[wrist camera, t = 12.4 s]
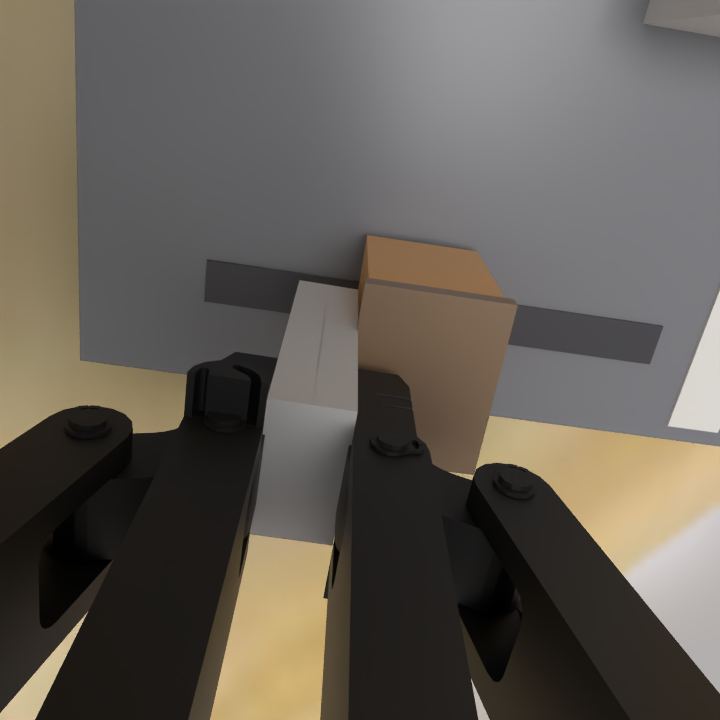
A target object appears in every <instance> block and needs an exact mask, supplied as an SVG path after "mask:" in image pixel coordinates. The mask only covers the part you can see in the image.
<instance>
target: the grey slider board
mask: <svg viewBox="0 0 720 720" xmlns="http://www.w3.org/2000/svg"><path fill="white" fill-rule="evenodd" d="M75 61H76V123H77V186H78V248H79V311H80V360H82V361H90V362H97V363H104V364H112V365H119V366H127V367H134V368H141V369H149V370H156V371H164V372H171V373H179V374H186V375H187V371H189V370H190V369H191V368H192V367H193V366H194V365H197V364H200V363H203V362H208V361H217V360H222V359H224V358H226V357H227V356H229V355H231V354H232V353H234V352H242V353H248V354H255V355H261V356H267V357H274V358H278V357H279V353H280V350H281V346H282V342H283V339H284V335H285V331H286V328H287V324H288V320H289V317H290V313H291V309H292V306H293V302H294V298H295V295H296V291H297V287H298V284H299V280H302V281H308V282H314V283H320V284H326V285H332V286H339V287H345V288H351V289H357V290H358V288H359V282H360V275H361V269H362V263H363V256H364V250H365V244H366V237H367V235H371V236H378V237H384V238H391V239H398V240H404V241H411V242H418V243H424V244H431V245H438V246H444V247H451V248H458V249H464V250H471V251H477V252H478V254H479V256H480V257H481V259H482V261H483V262H484V264H485V265H486V267H487V269H488V270H489V272H490V274H491V275H492V277H493V279H494V280H495V282H496V284H497V285H498V287H499V289H500V290H501V292H502V294H503V295H504V297H505V298H510V299H514V300H515V302H516V303H517V305H518V307H517V310H516V314H515V318H514V322H513V326H512V330H511V334H510V337H509V341H508V345H507V349H506V353H505V357H504V361H503V364H502V368H501V372H500V376H499V380H498V384H497V387H496V391H495V395H494V399H493V403H492V407H491V411H490V414H489V415H490V416H498V417H505V418H513V419H520V420H527V421H535V422H542V423H550V424H557V425H564V426H572V427H579V428H587V429H594V430H602V431H609V432H616V433H624V434H631V435H639V436H646V437H654V438H661V439H668V440H676V441H683V442H691V443H698V444H705V445H713V446H720V0H75Z"/></svg>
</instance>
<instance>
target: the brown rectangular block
mask: <svg viewBox="0 0 720 720" xmlns="http://www.w3.org/2000/svg"><path fill="white" fill-rule="evenodd" d="M517 307H518V305H517V303H516V302H515V300H514V299H510V298H505V297H504V295H503V294H502V292H501V290H500V289H499V287H498V285H497V284H496V282H495V280H494V279H493V277H492V275H491V274H490V272H489V270H488V269H487V267H486V265H485V264H484V262H483V261H482V259H481V257H480V256H479V254H478V252H477V251H471V250H464V249H458V248H451V247H444V246H438V245H431V244H424V243H418V242H411V241H404V240H398V239H391V238H384V237H378V236H371V235H367V237H366V244H365V250H364V256H363V263H362V269H361V275H360V282H359V288H358V324H357V331H358V369H363V370H370V371H376V372H383V373H389V374H396V375H399V376H400V377H401V378H402V379H403V381H404V382H405V383H406V384H407V385H408V386H409V388H410V394H411V401H412V407H413V409H412V411H413V414H414V420H415V426H416V433H417V437H418V438H420V439H421V440H422V441H423V442H424V443H426V445H427V447H428V449H429V451H430V454H431V460H432V464H433V465H435V466H437V467H439V468H440V469H442V470H444V471H448V472H456V473H463V474H471V475H474V472H475V468H476V464H477V461H478V457H479V453H480V449H481V445H482V441H483V438H484V434H485V430H486V426H487V422H488V418H489V414H490V411H491V407H492V403H493V399H494V395H495V391H496V387H497V384H498V380H499V376H500V372H501V368H502V364H503V361H504V357H505V353H506V349H507V345H508V341H509V337H510V334H511V330H512V326H513V322H514V318H515V314H516V310H517Z"/></svg>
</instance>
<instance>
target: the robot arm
mask: <svg viewBox="0 0 720 720" xmlns="http://www.w3.org/2000/svg"><path fill="white" fill-rule="evenodd" d="M357 324H358V290H357V289H351V288H345V287H339V286H332V285H326V284H320V283H314V282H308V281H302V280H299V284H298V287H297V291H296V295H295V298H294V302H293V306H292V309H291V313H290V317H289V320H288V324H287V328H286V331H285V335H284V339H283V342H282V346H281V350H280V353H279V357H278V358H274V357H267V356H261V355H255V354H248V353H242V352H234V353H232V354H231V355H229V356H227V357H226V358H224V359H222V360H217V361H208V362H203V363H200V364H197V365H194V366H193V367H192V368H191V369H190V370H189V371H187V384H186V397H185V410H184V417H183V419H182V421H181V423H180V426H179V428H177V429H174V430H170V431H166V432H157V433H136V434H133V427H132V421H131V420H130V419H129V418H128V417H127V416H126V415H125V414H123V413H121V412H119V411H116V410H114V409H110V408H104V407H100V406H92V405H90V406H88V405H87V406H78V407H75V408H70V409H65V410H62V411H60V412H57V413H55V414H53V415H51V416H49V417H48V418H46V419H45V420H43V421H42V422H40V423H39V424H37V425H36V426H34V427H33V428H31V429H30V430H28V431H27V432H25V433H24V434H22V435H21V436H19V437H18V438H16V439H15V440H13V441H12V442H10V443H8V444H7V445H5V446H4V447H2V448H1V449H0V713H1V711H2V710H3V709H4V708H5V707H6V706H7V704H8V703H9V702H10V701H11V700H12V699H13V698H14V696H15V695H16V694H17V693H18V692H19V691H20V689H21V688H22V687H23V686H24V685H25V684H26V682H27V681H28V680H29V679H30V678H31V677H32V676H33V674H34V673H35V672H36V671H37V670H38V669H39V667H40V666H41V665H42V664H43V663H44V662H45V660H46V659H47V658H48V657H49V656H50V655H51V654H52V652H53V651H54V650H55V649H56V648H57V647H58V645H59V644H60V643H61V642H62V641H63V640H64V638H65V637H66V636H67V635H68V634H69V633H70V632H71V630H72V629H73V628H74V627H75V626H76V625H77V623H78V622H79V621H80V620H81V619H82V618H83V617H84V615H85V614H86V613H87V612H88V613H87V615H86V617H85V619H84V621H83V623H82V625H81V627H80V629H79V632H78V634H77V636H76V638H75V640H74V642H73V644H72V646H71V648H70V650H69V652H68V654H67V656H66V658H65V660H64V662H63V664H62V666H61V668H60V670H59V672H58V674H57V676H56V678H55V680H54V683H53V685H52V687H51V689H50V691H49V693H48V695H47V697H46V699H45V701H44V703H43V705H42V707H41V709H40V711H39V713H38V715H37V717H36V719H35V720H210V716H211V712H212V708H213V703H214V699H215V694H216V690H217V685H218V681H219V676H220V672H221V667H222V663H223V659H224V654H225V650H226V645H227V641H228V636H229V632H230V627H231V623H232V618H233V614H234V610H235V605H236V601H237V596H238V592H239V587H240V583H241V578H242V574H243V569H244V565H245V560H246V556H247V551H248V543H249V535H250V534H253V535H260V536H268V537H275V538H283V539H290V540H297V541H305V542H312V543H319V544H327V545H333V540H334V534H335V540H334V545H333V550H332V555H331V561H330V566H329V571H328V576H327V582H326V587H325V592H324V597H323V598H327V599H328V603H327V620H326V636H325V653H324V669H323V685H322V702H321V718H320V720H478V716H477V710H476V705H475V699H474V693H473V688H472V682H471V679H472V681H473V683H474V686H475V688H476V690H477V692H478V694H479V696H480V699H481V701H482V703H483V706H484V708H485V710H486V712H487V714H488V717H489V719H490V720H720V694H719V692H718V691H717V690H716V689H715V687H714V686H713V685H712V684H711V683H710V681H709V680H708V679H707V678H706V677H705V675H704V674H703V673H702V672H701V670H700V669H699V668H698V667H697V665H695V663H694V662H693V661H692V659H691V658H690V657H689V656H688V655H687V653H686V652H685V651H684V650H683V648H682V647H681V646H680V645H679V643H678V642H677V641H676V640H675V639H674V637H673V636H672V635H671V634H670V632H669V631H668V630H667V629H666V628H665V626H664V625H663V624H662V623H661V622H660V620H659V619H658V618H657V617H656V615H655V614H654V613H653V612H652V610H651V609H650V608H649V607H648V606H647V604H646V603H645V602H644V601H643V599H642V598H641V597H640V596H639V594H638V593H637V592H636V591H635V590H634V588H633V587H632V586H631V585H630V583H629V582H628V581H627V580H626V578H625V577H624V576H623V575H622V574H621V572H620V571H619V570H618V569H617V567H616V566H615V565H614V564H613V563H612V561H611V560H610V559H609V558H608V556H607V555H606V554H605V553H604V552H603V550H602V549H601V548H600V547H599V545H598V544H597V543H596V542H595V541H594V539H593V538H592V537H591V536H590V534H589V533H588V532H587V531H586V529H585V528H584V527H583V526H582V525H581V523H580V522H579V521H578V520H577V518H576V517H575V516H574V515H573V514H572V512H571V511H570V510H569V509H568V507H567V506H566V505H565V504H564V503H563V501H562V500H561V499H560V498H559V496H558V495H557V494H556V493H555V492H554V490H553V489H552V488H551V487H550V485H548V484H547V483H546V482H545V481H544V480H543V479H542V478H541V477H539V476H537V475H536V474H534V473H532V472H530V471H529V470H527V469H525V468H523V467H520V466H519V467H517V465H513V464H502V463H492V464H485V465H483V466H481V467H479V468H477V469H476V471H475V474H474V476H473V480H469V479H466V478H463V477H460V476H457V475H454V474H452V473H449V472H447V471H444V470H442V469H440V468H439V467H437V466H435V465H433V464H432V460H431V454H430V451H429V449H428V447H427V445H426V443H424V442H423V441H422V440H421V439H420V438H418V437H417V433H416V426H415V420H414V414H413V411H412V409H413V407H412V401H411V394H410V388H409V386H408V385H407V384H406V383H405V382H404V381H403V379H402V378H401V377H400V376H399V375H396V374H389V373H383V372H376V371H370V370H363V369H358V331H357Z"/></svg>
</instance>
